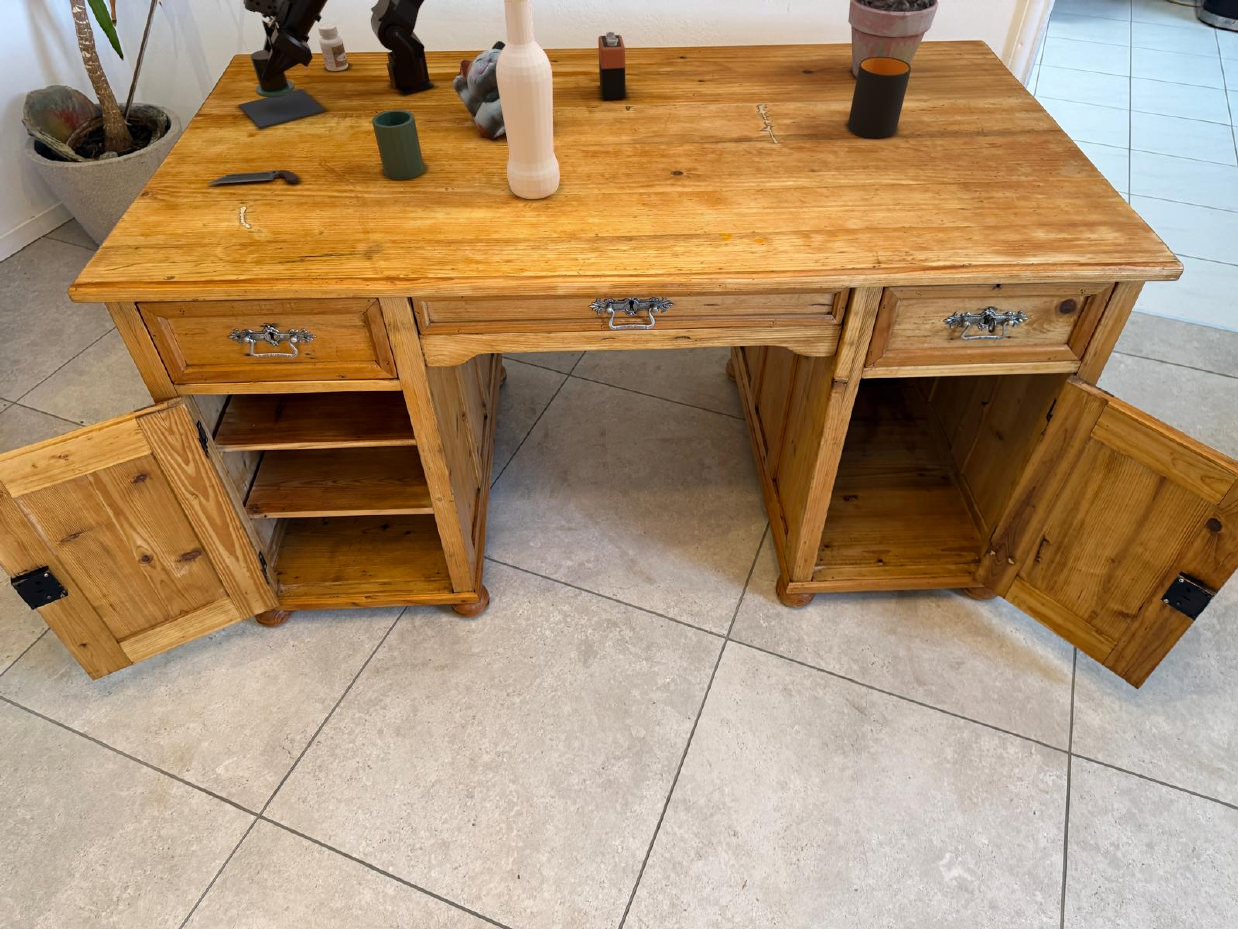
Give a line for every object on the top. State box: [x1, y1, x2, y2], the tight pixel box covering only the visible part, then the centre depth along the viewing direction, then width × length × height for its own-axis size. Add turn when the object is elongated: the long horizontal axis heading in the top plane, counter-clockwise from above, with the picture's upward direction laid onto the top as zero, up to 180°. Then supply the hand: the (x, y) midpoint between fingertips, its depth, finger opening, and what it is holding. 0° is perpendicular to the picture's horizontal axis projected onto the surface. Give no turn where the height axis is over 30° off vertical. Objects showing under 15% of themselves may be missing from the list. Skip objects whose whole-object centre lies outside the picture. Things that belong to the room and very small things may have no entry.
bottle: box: [496, 0, 561, 200], centre depth 116 cm, size 8×8×30 cm
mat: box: [238, 88, 325, 130], centre depth 149 cm, size 12×12×1 cm
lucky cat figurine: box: [451, 40, 506, 140], centre depth 139 cm, size 15×12×14 cm
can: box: [371, 109, 425, 181], centre depth 129 cm, size 6×6×8 cm
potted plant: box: [847, 0, 939, 78], centre depth 148 cm, size 18×20×25 cm
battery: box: [597, 31, 627, 101], centre depth 148 cm, size 4×7×10 cm, turn 6°
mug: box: [847, 57, 912, 140], centre depth 138 cm, size 8×12×10 cm
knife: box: [208, 169, 299, 185], centre depth 129 cm, size 14×4×1 cm, turn 97°
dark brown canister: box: [250, 49, 296, 98], centre depth 144 cm, size 7×7×7 cm
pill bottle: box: [317, 22, 349, 72], centre depth 160 cm, size 4×4×8 cm
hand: (262, 74), depth 144 cm, fingers closed on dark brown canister, 5 cm apart
